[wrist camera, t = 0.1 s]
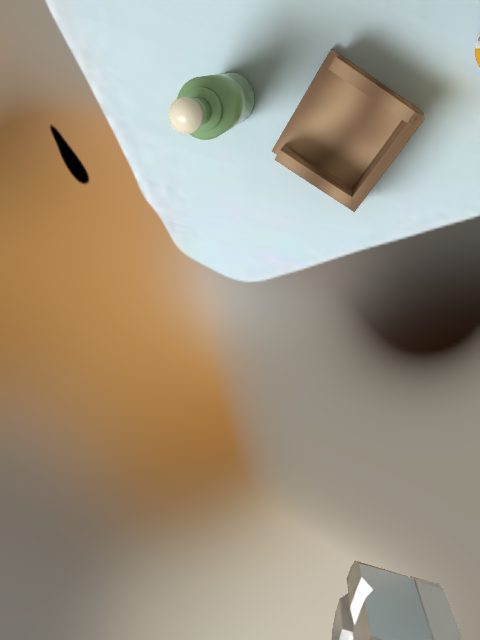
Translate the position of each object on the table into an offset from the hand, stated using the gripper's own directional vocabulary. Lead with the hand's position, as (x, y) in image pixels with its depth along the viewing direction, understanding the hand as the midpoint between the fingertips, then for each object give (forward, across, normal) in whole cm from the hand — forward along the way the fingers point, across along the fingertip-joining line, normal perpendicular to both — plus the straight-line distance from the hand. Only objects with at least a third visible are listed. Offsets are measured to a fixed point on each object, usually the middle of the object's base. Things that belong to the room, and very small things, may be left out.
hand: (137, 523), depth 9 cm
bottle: (+49, +10, -18) cm, 53 cm away
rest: (+49, -3, -17) cm, 52 cm away
